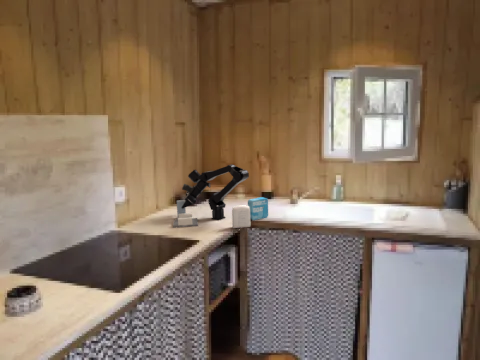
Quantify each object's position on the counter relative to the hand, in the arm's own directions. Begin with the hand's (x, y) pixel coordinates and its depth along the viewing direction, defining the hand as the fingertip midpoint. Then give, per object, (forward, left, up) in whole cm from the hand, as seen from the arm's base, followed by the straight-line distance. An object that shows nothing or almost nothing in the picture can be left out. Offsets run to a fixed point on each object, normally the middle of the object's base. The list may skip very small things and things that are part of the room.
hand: (182, 206), depth 237 cm
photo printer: (-44, +2, -8) cm, 44 cm away
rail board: (-10, +9, -7) cm, 15 cm away
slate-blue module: (0, 0, -7) cm, 7 cm away
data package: (-44, -18, -8) cm, 48 cm away
